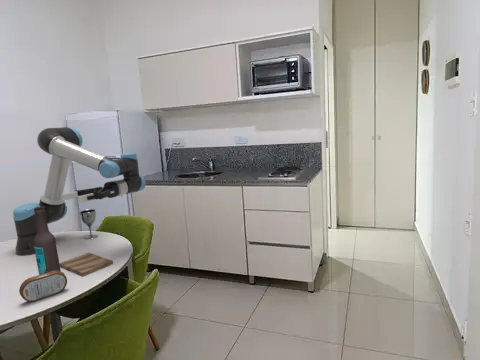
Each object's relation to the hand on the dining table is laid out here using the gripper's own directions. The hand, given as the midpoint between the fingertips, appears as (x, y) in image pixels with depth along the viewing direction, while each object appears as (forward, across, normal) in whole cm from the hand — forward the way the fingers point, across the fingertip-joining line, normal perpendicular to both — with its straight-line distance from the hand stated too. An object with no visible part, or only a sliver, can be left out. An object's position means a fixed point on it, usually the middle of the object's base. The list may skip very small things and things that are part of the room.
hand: (70, 198), depth 142 cm
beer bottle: (+13, 0, -31) cm, 33 cm away
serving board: (-2, 0, -31) cm, 31 cm away
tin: (+21, -14, -31) cm, 40 cm away
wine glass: (-26, +36, -31) cm, 54 cm away
